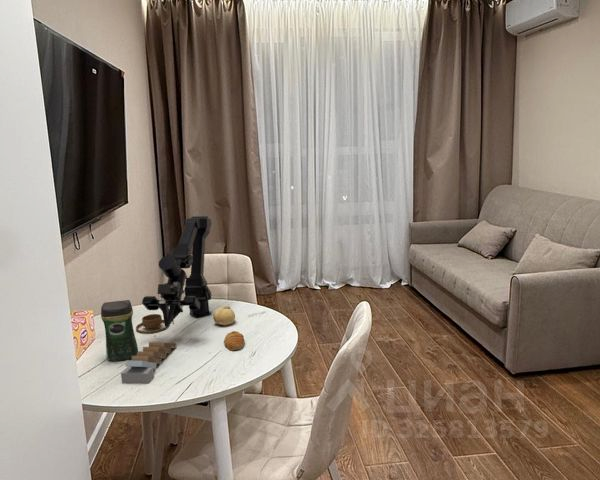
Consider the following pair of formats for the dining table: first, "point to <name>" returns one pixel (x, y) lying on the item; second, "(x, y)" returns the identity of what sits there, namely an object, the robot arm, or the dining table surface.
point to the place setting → (151, 324)
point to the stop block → (137, 375)
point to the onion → (224, 316)
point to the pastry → (234, 340)
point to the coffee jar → (119, 330)
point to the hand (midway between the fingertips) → (166, 326)
